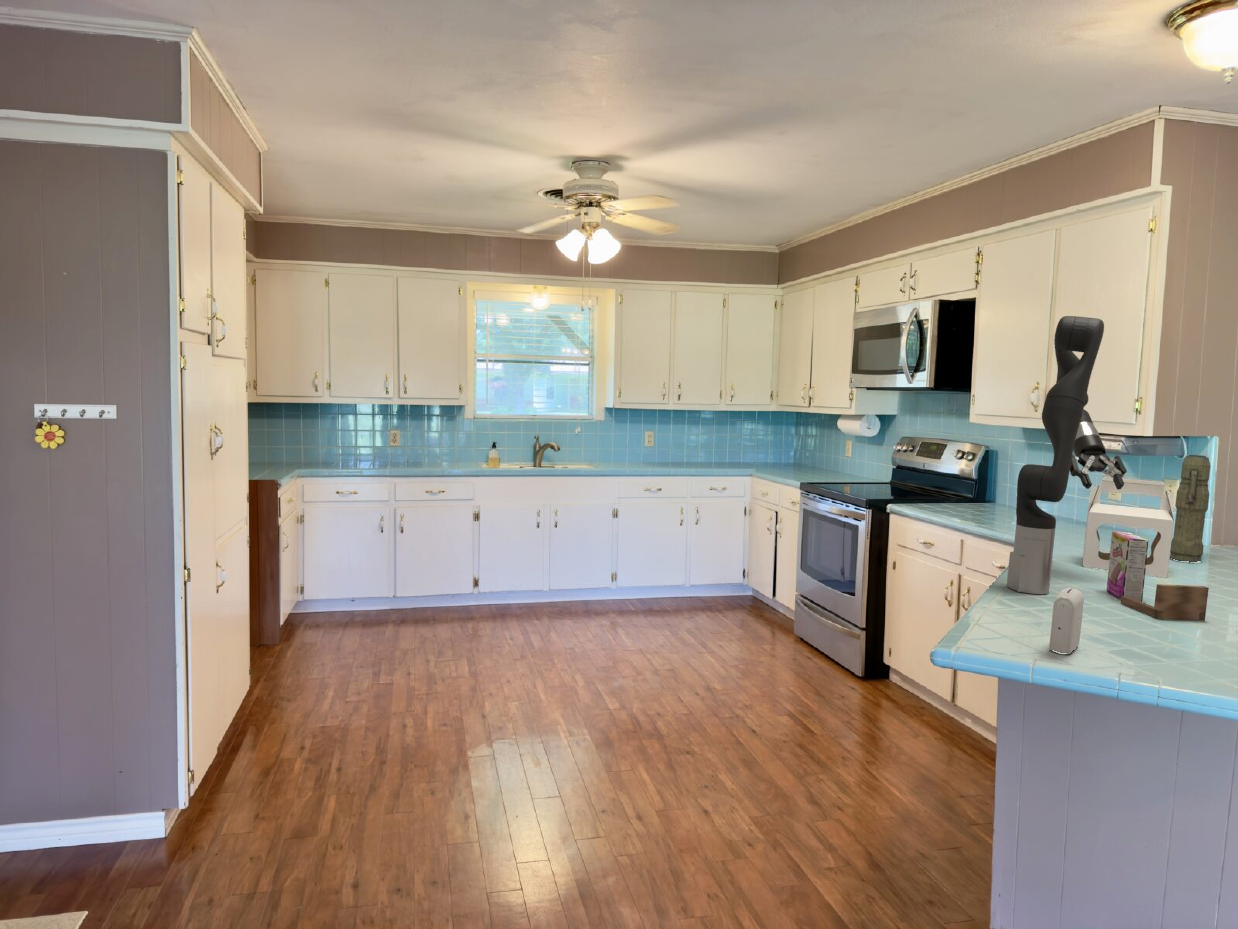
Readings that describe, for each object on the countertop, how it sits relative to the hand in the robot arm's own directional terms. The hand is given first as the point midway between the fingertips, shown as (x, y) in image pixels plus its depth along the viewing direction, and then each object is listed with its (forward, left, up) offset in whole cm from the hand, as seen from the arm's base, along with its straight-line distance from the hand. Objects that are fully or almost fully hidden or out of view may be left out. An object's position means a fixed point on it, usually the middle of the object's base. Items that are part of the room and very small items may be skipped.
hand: (1104, 487), depth 223 cm
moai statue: (+57, +42, -28) cm, 76 cm away
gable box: (+24, +24, -28) cm, 44 cm away
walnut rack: (0, -27, -27) cm, 38 cm away
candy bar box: (0, -13, -28) cm, 30 cm away
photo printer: (-44, -60, -28) cm, 79 cm away
